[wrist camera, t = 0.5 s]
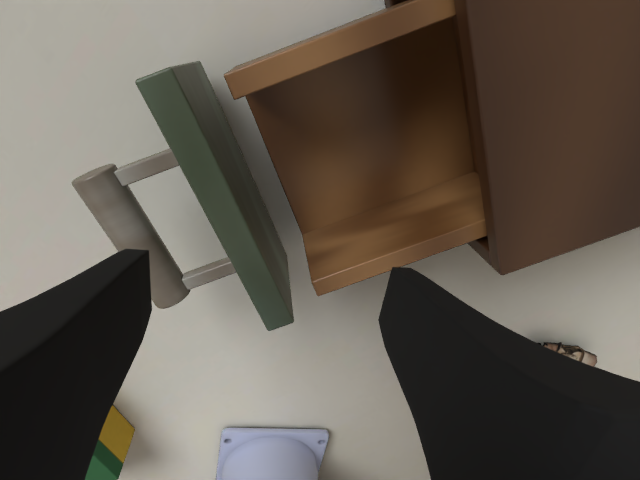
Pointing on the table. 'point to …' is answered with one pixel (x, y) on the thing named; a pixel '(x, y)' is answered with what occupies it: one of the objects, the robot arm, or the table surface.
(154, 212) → the table surface
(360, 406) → the table surface
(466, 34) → the cabinet
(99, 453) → the sponge
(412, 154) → the drawer
